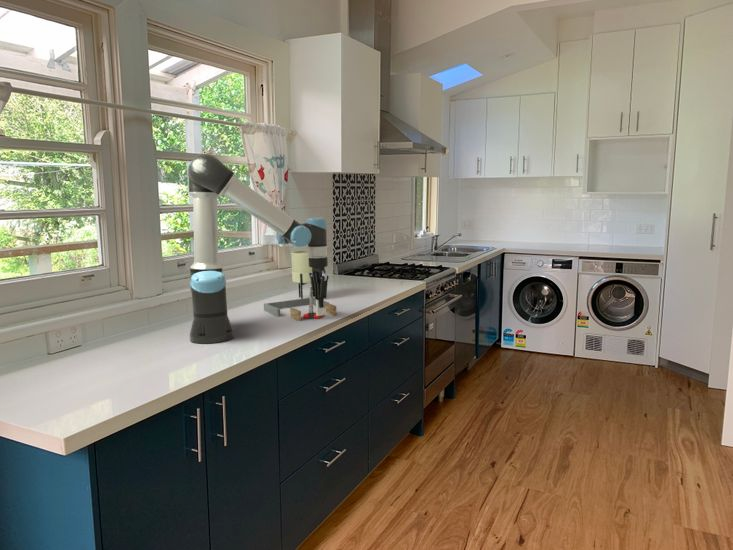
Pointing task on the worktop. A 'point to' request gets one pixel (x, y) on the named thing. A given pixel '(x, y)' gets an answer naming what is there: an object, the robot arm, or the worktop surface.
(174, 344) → the worktop surface
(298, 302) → the grey piece
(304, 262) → the planter
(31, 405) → the worktop surface
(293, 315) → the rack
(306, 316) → the tow hook
